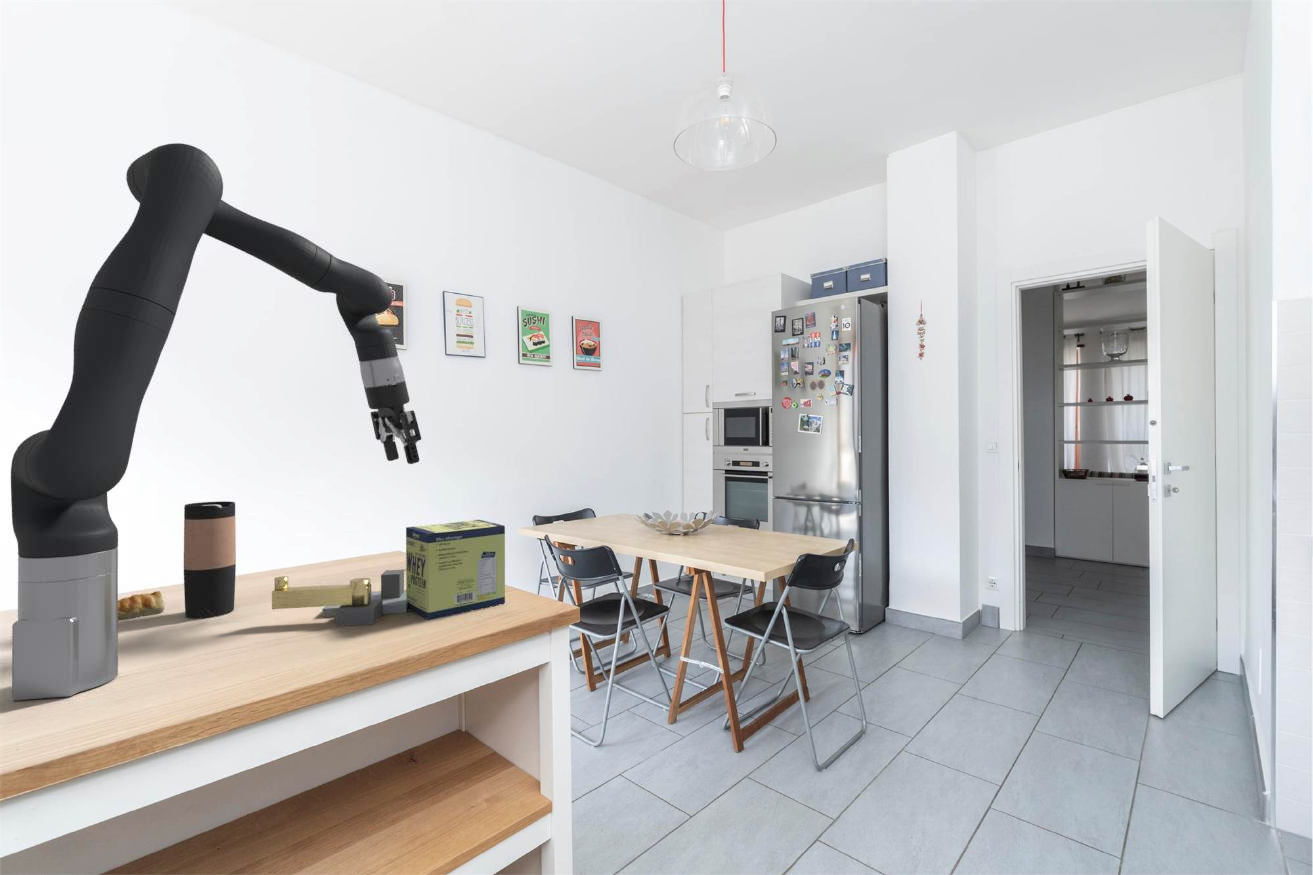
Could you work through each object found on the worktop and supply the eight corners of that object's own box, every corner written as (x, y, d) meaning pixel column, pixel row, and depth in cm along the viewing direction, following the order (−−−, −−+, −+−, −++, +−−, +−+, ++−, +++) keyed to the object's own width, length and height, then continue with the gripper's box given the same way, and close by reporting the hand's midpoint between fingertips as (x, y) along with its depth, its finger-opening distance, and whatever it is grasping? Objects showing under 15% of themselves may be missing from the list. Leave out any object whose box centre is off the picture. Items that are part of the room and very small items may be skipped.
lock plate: (398, 622, 103) (398, 587, 103) (310, 627, 100) (310, 592, 100) (417, 596, 119) (417, 566, 119) (342, 600, 117) (342, 570, 117)
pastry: (97, 626, 101) (97, 603, 101) (91, 618, 106) (91, 597, 106) (167, 613, 109) (167, 593, 109) (159, 607, 113) (159, 587, 113)
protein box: (404, 609, 112) (404, 526, 111) (481, 594, 122) (481, 518, 122) (427, 621, 104) (427, 533, 104) (506, 604, 115) (507, 524, 115)
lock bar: (372, 599, 106) (372, 571, 106) (367, 604, 103) (367, 575, 103) (278, 604, 103) (278, 575, 103) (270, 609, 100) (271, 580, 100)
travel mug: (190, 609, 110) (190, 502, 110) (239, 605, 113) (240, 500, 114) (177, 621, 103) (177, 506, 103) (230, 615, 107) (230, 504, 107)
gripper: (349, 386, 118) (369, 464, 121) (382, 385, 109) (402, 469, 112) (386, 379, 123) (404, 454, 127) (420, 377, 114) (438, 458, 118)
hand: (403, 461), depth 120 cm, fingers open, 8 cm apart
